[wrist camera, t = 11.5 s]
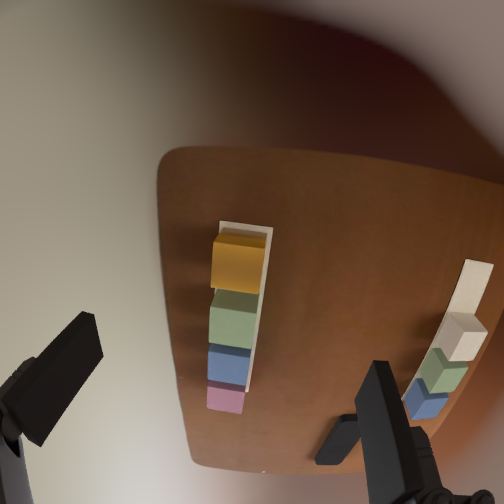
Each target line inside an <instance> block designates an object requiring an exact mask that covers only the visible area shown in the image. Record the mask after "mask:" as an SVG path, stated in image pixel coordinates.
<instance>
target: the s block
mask: <svg viewBox="0 0 504 504" xmlns="http://www.w3.org/2000/svg"><path fill="white" fill-rule="evenodd" d="M266 241H267V233H263V232H256V231H248V230H241V229H233V228H226V227H223V228H222V230H221V231H220V233H219V234H218V236H217V237H216V239H215V240H214V242H213V253H212V269H211V287H213V288H219V289H226V290H232V291H239V292H246V293H253V294H259V290H260V284H261V277H262V271H263V263H264V256H265V249H266Z"/></svg>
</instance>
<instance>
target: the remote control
mask: <svg viewBox="0 0 504 504" xmlns="http://www.w3.org/2000/svg"><path fill="white" fill-rule="evenodd" d="M360 437H361V435H360V429H359V423H358V417H357V415H343V416H341V417H340V418H339V419H338V421H337V423H336V424H335V426H334V428H333V430H332V431H331V433H330V435H329V436H328V438H327V440H326V441H325V443H324V445H323V446H322V448H321V449H320V451H319V453H318V454H317V456H316V457H315V462H316V464H317V465H338V464H340V463H341V462H342V461H343V460H344V458H345V457H346V456H347V455H348V453H349V452H350V451H351V449H352V448H353V447H354V445H355V444H356V442H357V441H358V440H359V438H360Z"/></svg>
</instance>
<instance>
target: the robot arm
mask: <svg viewBox="0 0 504 504" xmlns="http://www.w3.org/2000/svg"><path fill="white" fill-rule="evenodd" d="M102 358H103V352H102V348H101V344H100V340H99V336H98V331H97V326H96V321H95V317H94V314H91V313H87V312H84V311H82V312H81V313H80V314H79V315H78V316H77V317H76V318H75V319H74V320H73V321H72V322H71V323H70V324H69V325H68V326H67V327H66V328H65V329H64V330H63V331H62V332H61V333H60V334H59V335H58V336H57V337H56V338H55V339H54V340H53V341H52V342H51V343H50V345H48V346H47V348H45V350H44V351H43V352H42V353H41V354H40V355H39V356H38V357H37V358H35V357H31V358H29V359H27V360H26V361H24V362H23V363H22V364H21V365H20V366H19V367H18V368H17V370H15V371H14V372H13V374H12V376H10V377H9V378H8V379H7V380H6V382H5V383H4V384H3V385H2V386H1V387H0V504H34V502H33V499H32V494H31V490H30V485H29V480H28V475H27V470H26V464H25V458H24V452H23V443H22V439H21V437H20V435H21V434H22V432H23V433H24V435H25V436H26V437H27V439H28V440H30V441H31V442H33V443H34V444H36V445H38V446H39V447H41V446H42V445H43V443H44V441H45V440H46V438H47V437H48V435H49V434H50V432H51V431H52V429H53V428H54V426H55V425H56V423H57V422H58V420H59V419H60V417H61V416H62V414H63V413H64V411H65V410H66V408H67V407H68V406H69V404H70V403H71V401H72V400H73V398H74V397H75V395H76V394H77V393H78V391H79V390H80V388H81V387H82V385H83V384H84V383H85V381H86V380H87V379H88V377H89V376H90V374H91V373H92V372H93V370H94V369H95V367H96V366H97V365H98V363H99V362H100V360H101V359H102ZM355 405H356V411H357V417H358V423H359V429H360V435H361V441H362V448H363V455H364V462H365V470H366V477H367V486H368V494H369V504H495V501H494V497H493V494H492V493H490V492H489V491H487V490H479V491H478V492H476V493H474V494H473V495H472V496H463V495H453V494H452V492H451V491H450V490H448V489H446V488H444V487H443V486H442V483H441V480H440V476H439V473H438V469H437V465H436V462H435V458H434V456H433V452H432V448H431V447H430V446H431V445H430V442H429V439H428V436H427V434H426V433H425V431H424V430H423V429H422V428H421V426H417V427H410V425H409V422H408V419H407V416H406V412H405V409H404V406H403V403H402V400H401V397H400V394H399V391H398V388H397V385H396V382H395V379H394V376H393V373H392V370H391V368H390V365H389V362H388V361H377V360H373V362H372V364H371V366H370V369H369V371H368V373H367V375H366V377H365V379H364V382H363V384H362V386H361V388H360V390H359V392H358V394H357V396H356V398H355Z"/></svg>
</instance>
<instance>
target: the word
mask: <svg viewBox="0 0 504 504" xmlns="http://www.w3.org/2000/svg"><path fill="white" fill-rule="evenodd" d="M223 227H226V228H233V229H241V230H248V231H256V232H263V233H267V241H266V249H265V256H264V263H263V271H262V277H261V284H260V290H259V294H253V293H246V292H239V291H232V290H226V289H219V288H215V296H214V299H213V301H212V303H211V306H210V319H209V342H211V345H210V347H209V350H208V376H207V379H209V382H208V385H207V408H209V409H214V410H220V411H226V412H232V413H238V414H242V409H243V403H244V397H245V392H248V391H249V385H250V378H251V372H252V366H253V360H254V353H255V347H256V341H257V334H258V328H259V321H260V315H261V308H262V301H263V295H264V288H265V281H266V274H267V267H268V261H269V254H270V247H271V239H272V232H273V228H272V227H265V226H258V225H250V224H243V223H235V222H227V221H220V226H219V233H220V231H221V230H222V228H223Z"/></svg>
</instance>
